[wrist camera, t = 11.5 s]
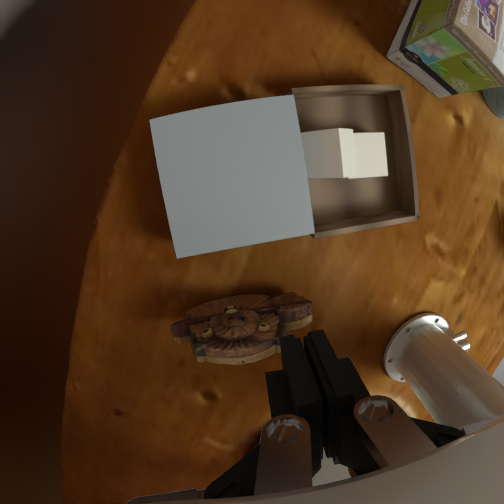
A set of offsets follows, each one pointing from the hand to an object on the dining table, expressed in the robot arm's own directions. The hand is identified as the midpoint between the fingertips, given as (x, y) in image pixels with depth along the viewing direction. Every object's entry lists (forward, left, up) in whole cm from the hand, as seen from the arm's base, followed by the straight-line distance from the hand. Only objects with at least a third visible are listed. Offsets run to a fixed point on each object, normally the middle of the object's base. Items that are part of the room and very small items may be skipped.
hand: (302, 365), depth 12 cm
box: (-13, -7, -27) cm, 30 cm away
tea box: (-29, -23, -27) cm, 46 cm away
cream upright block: (-8, -7, -22) cm, 25 cm away
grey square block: (+1, -7, -27) cm, 27 cm away
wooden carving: (+3, +9, -27) cm, 29 cm away
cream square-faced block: (-14, -7, -23) cm, 28 cm away
